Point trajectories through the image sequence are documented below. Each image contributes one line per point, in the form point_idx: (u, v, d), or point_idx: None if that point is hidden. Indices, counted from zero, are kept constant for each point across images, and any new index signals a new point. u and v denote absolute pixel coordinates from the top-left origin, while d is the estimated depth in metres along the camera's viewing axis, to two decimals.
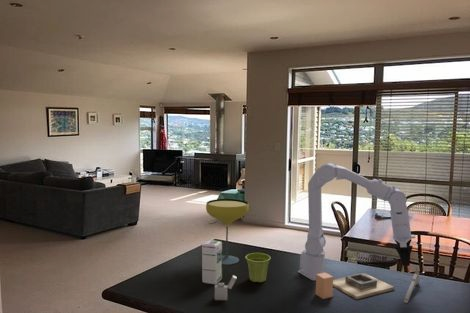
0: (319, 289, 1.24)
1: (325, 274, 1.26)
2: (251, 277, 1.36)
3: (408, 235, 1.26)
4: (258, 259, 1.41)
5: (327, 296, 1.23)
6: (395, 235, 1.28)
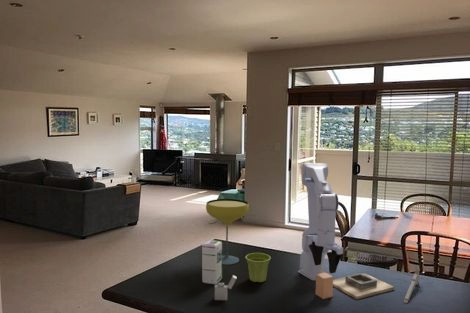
0: (319, 289, 1.24)
1: (325, 274, 1.26)
2: (251, 277, 1.36)
3: (317, 239, 1.25)
4: (258, 259, 1.41)
5: (327, 296, 1.23)
6: None
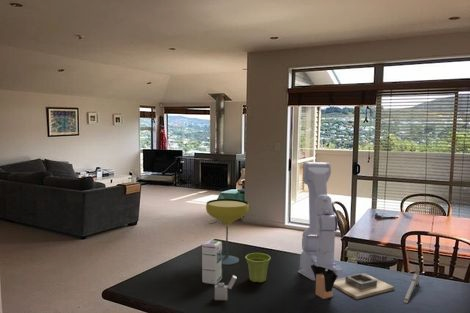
0: (319, 289, 1.24)
1: None
2: (251, 277, 1.36)
3: (316, 259, 1.25)
4: (258, 259, 1.41)
5: (327, 296, 1.23)
6: None
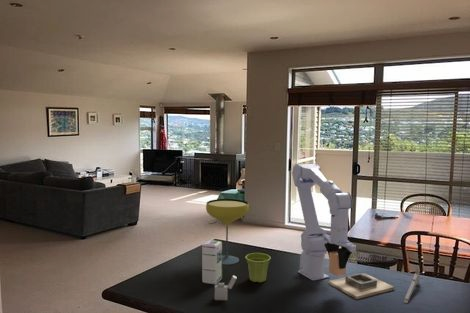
0: (332, 266, 1.26)
1: None
2: (251, 277, 1.36)
3: (330, 237, 1.27)
4: (258, 259, 1.41)
5: (340, 273, 1.25)
6: None
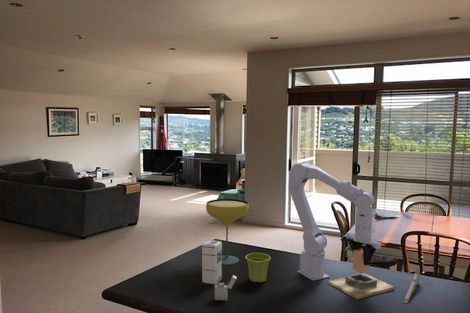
0: (356, 264, 1.31)
1: (362, 250, 1.33)
2: (251, 277, 1.36)
3: (354, 235, 1.32)
4: (258, 259, 1.41)
5: (364, 270, 1.30)
6: None
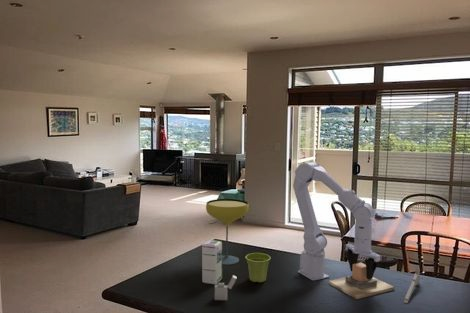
0: (355, 278, 1.32)
1: (361, 264, 1.33)
2: (251, 277, 1.36)
3: (354, 247, 1.33)
4: (258, 259, 1.41)
5: None
6: None
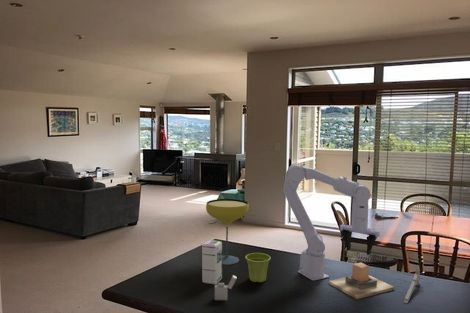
0: (355, 278, 1.32)
1: (361, 264, 1.33)
2: (251, 277, 1.36)
3: (352, 226, 1.38)
4: (258, 259, 1.41)
5: None
6: None
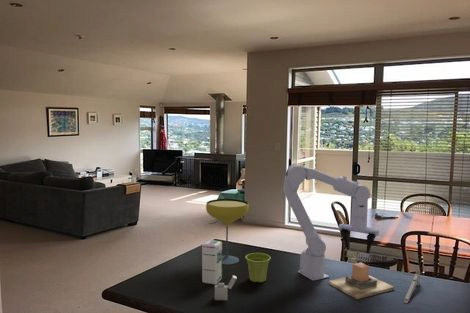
0: (355, 278, 1.32)
1: (361, 264, 1.33)
2: (251, 277, 1.36)
3: (352, 225, 1.39)
4: (258, 259, 1.41)
5: None
6: None
